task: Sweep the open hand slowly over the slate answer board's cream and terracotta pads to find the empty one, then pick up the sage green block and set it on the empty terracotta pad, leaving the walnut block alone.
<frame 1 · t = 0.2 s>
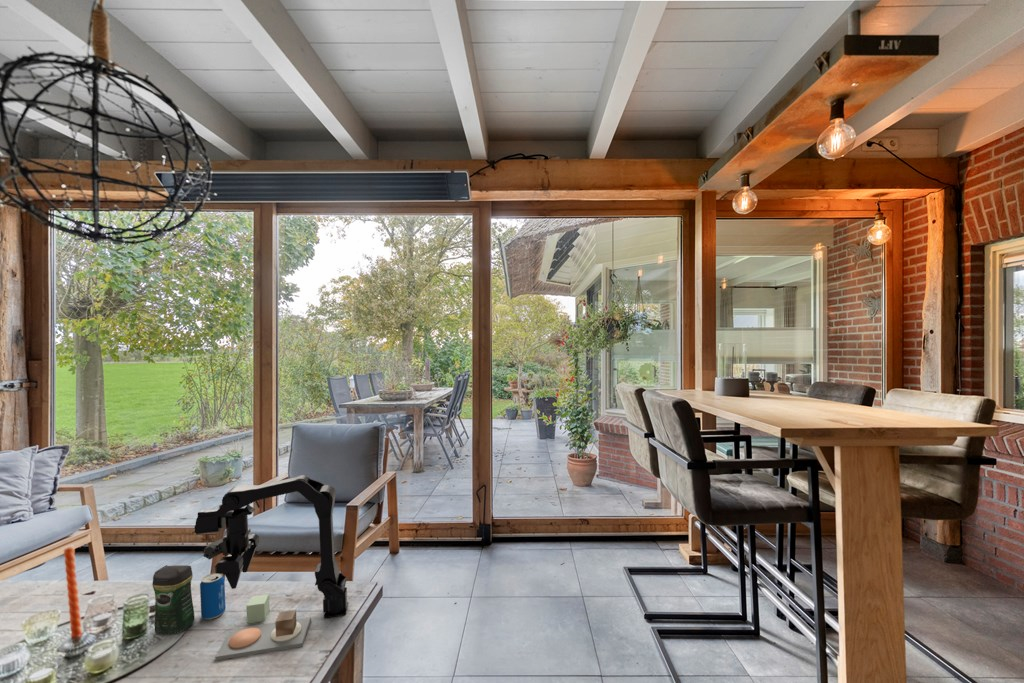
hand: (239, 580, 138), 14 cm above the table, tool pointing down, fingers open, 9 cm apart
walnut block: (286, 630, 134), point 2 cm above the table, touching answer board
coffee jar: (175, 627, 139), on the table
sage block: (258, 617, 143), on the table
answer board: (266, 639, 133), on the table
beverage can: (213, 615, 145), on the table
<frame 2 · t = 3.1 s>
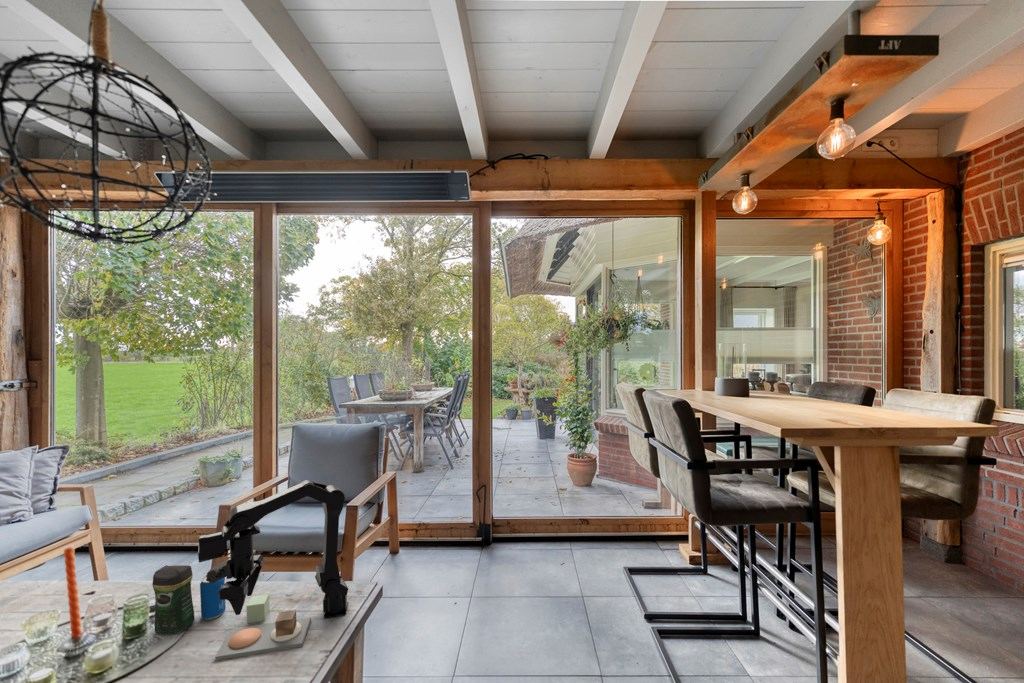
hand: (243, 604, 131), 11 cm above the table, tool pointing down, fingers open, 9 cm apart
nothing on the table moved.
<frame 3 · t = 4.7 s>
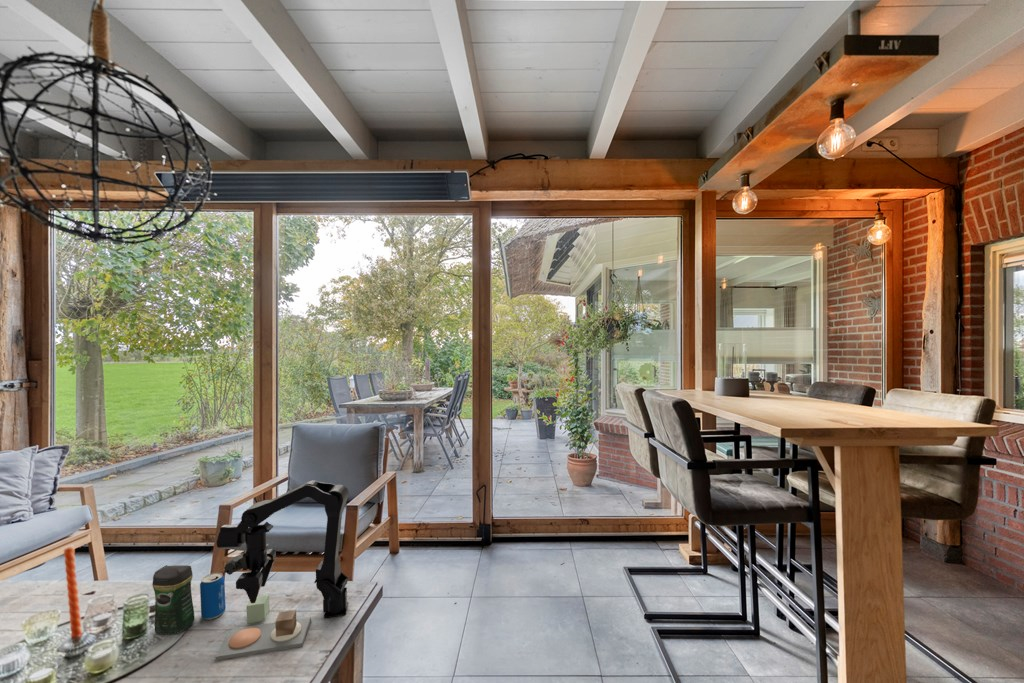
hand: (258, 594, 143), 7 cm above the table, tool pointing down, fingers open, 9 cm apart
nothing on the table moved.
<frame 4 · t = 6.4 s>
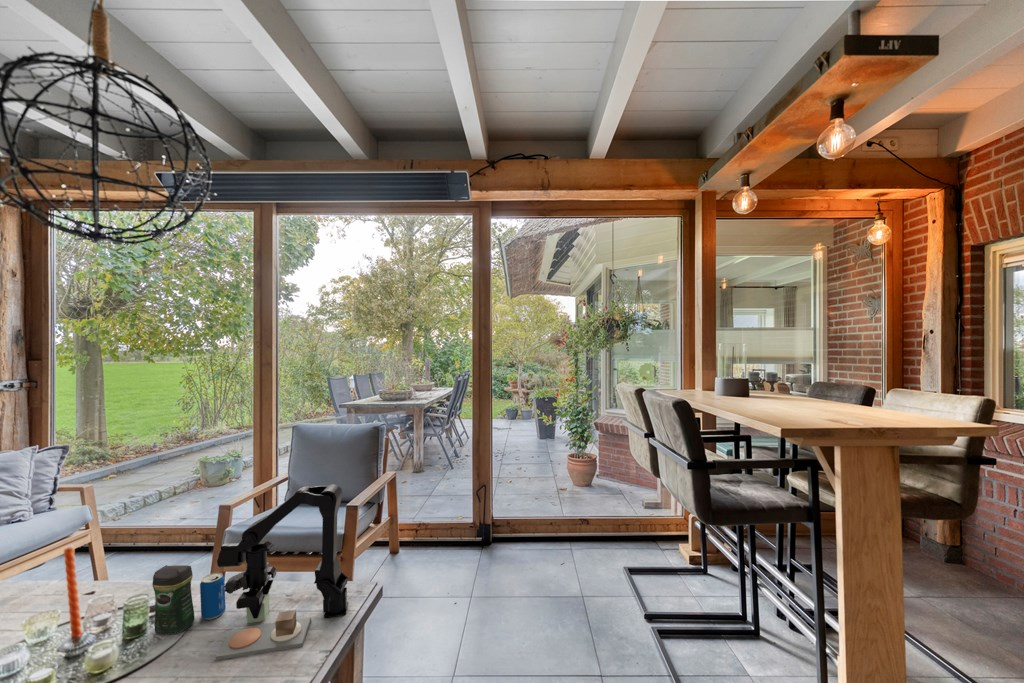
hand: (258, 613, 143), 1 cm above the table, tool pointing down, fingers closed on sage block, 5 cm apart
sage block: (258, 616, 143), on the table, touching gripper
everything else where it was.
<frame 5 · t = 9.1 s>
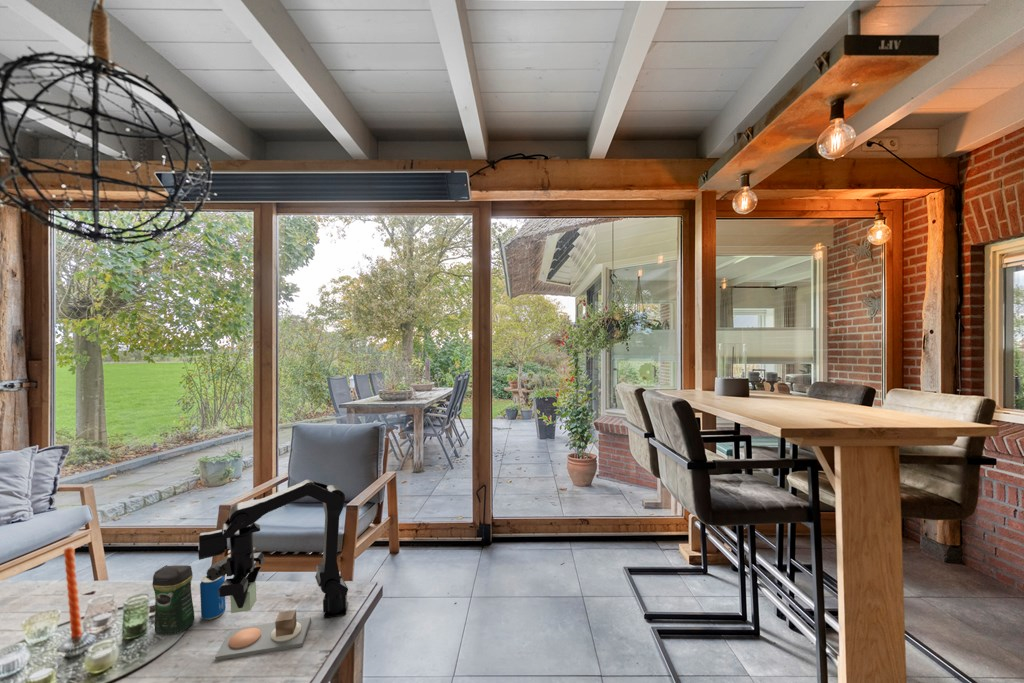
hand: (244, 602, 131), 12 cm above the table, tool pointing down, fingers closed on sage block, 5 cm apart
sage block: (244, 606, 131), point 10 cm above the table, touching gripper
everything else where it was.
when the fingers open (4 cm above the table, at t = 11.8 s): sage block stays where it is, resting on answer board.
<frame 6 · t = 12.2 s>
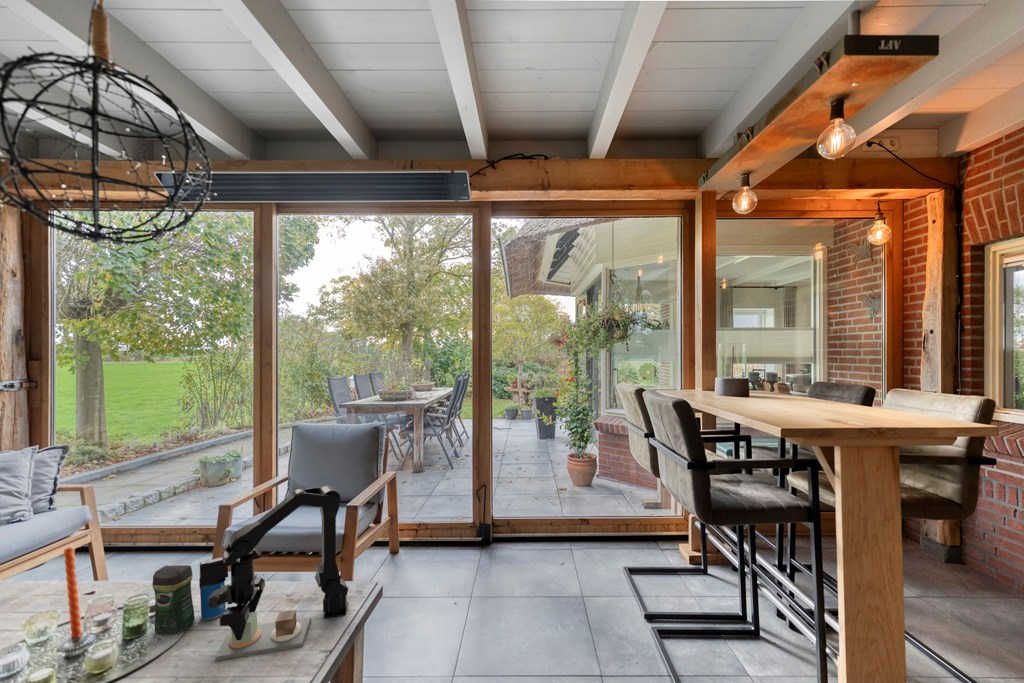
hand: (244, 629, 131), 4 cm above the table, tool pointing down, fingers open, 9 cm apart
sage block: (245, 636, 131), point 2 cm above the table, touching answer board
everything else where it was.
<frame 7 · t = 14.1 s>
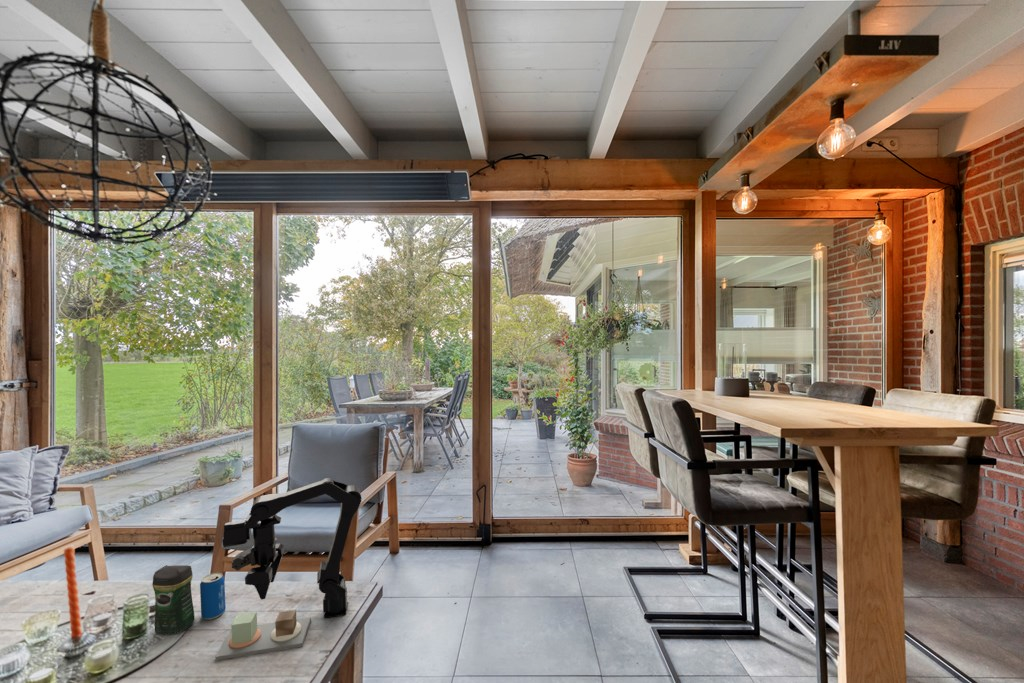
hand: (267, 590, 138), 11 cm above the table, tool pointing down, fingers open, 9 cm apart
nothing on the table moved.
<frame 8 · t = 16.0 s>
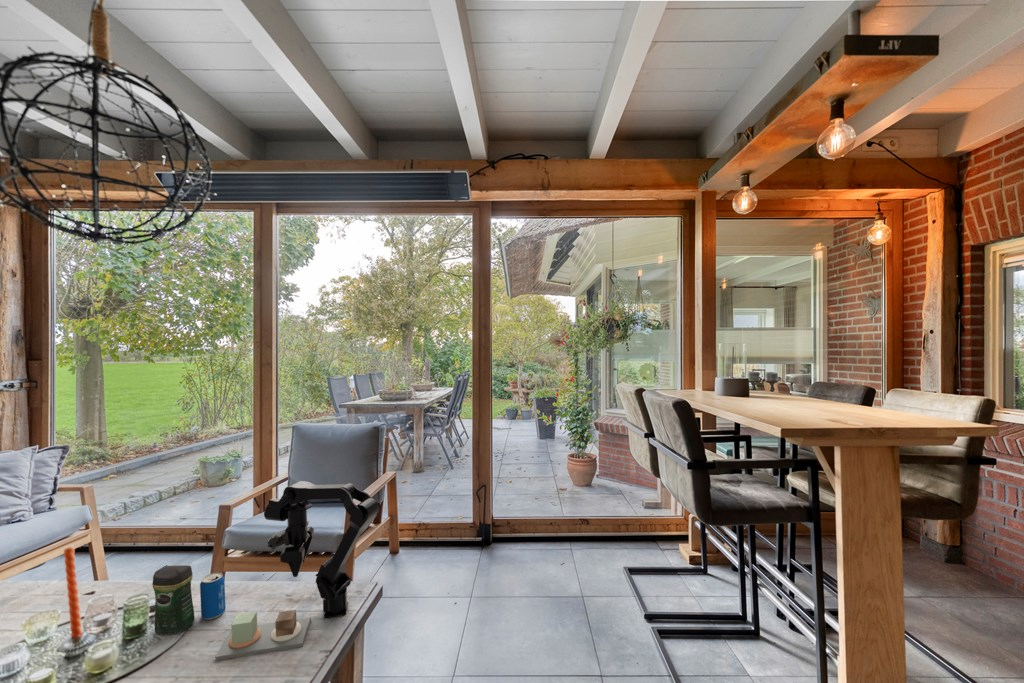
hand: (298, 569, 148), 12 cm above the table, tool pointing down, fingers open, 9 cm apart
nothing on the table moved.
at the end: sage block 0.0 cm from the target spot on the answer board, point 1.6 cm above the answer board's base; sage block tilted 0°; walnut block moved 0.0 cm from its start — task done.
